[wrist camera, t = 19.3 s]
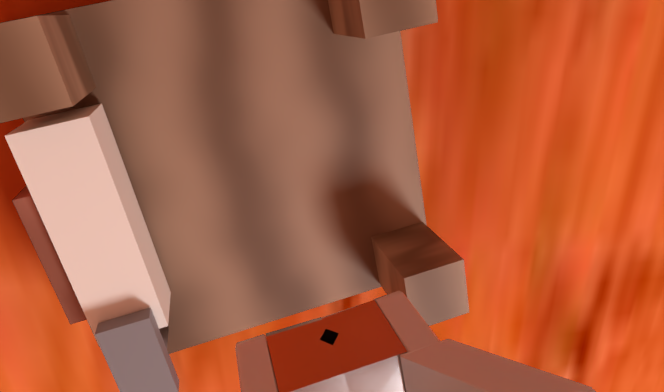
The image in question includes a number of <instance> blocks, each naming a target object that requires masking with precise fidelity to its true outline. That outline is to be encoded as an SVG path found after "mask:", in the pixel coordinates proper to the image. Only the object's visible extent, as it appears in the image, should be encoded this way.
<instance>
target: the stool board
mask: <svg viewBox="0 0 664 392" xmlns="http://www.w3.org/2000/svg"><path fill="white" fill-rule="evenodd" d="M436 22H438V17H437V8H436V0H112V1H107V2H102V3H97V4H92V5H87V6H82V7H77V8H72V9H67V10H62V11H57V12H52V13H47V14H42V15H37V16H32V17H27V18H22V19H17V20H12V21H7V22H2V23H0V123H3V122H7V121H12V120H16V119H20V118H23V120H24V122H26V121H28V120H31V119H35V118H40V117H44V116H48V115H53V114H57V113H62V112H66V111H70V110H75V109H79V108H83V107H88V106H92V105H97V104H101V103H102V105H103V108H104V111H105V114H106V116H107V119H108V122H109V125H110V127H111V130H112V133H113V136H114V138H115V141H116V144H117V147H118V149H119V152H120V155H121V157H122V160H123V163H124V166H125V168H126V171H127V174H128V177H129V179H130V182H131V185H132V188H133V190H134V193H135V196H136V199H137V201H138V204H139V207H140V210H141V212H142V215H143V218H144V221H145V223H146V226H147V229H148V231H149V234H150V237H151V240H152V242H153V245H154V248H155V251H156V253H157V256H158V259H159V262H160V264H161V267H162V270H163V273H164V275H165V278H166V281H167V284H168V286H169V289H170V292H171V296H170V309H169V322H168V326H167V327H163V328H160V329H159V330H160V333H161V335H162V338H163V340H164V343H165V346H166V348H167V351H168V353H169V354H170V353H173V352H176V351H179V350H183V349H186V348H189V347H192V346H195V345H198V344H201V343H205V342H208V341H211V340H214V339H217V338H220V337H224V336H227V335H230V334H233V333H236V332H239V331H243V330H246V329H249V328H252V327H255V326H258V325H262V324H265V323H268V322H271V321H274V320H277V319H280V318H284V317H287V316H290V315H293V314H296V313H299V312H303V311H306V310H309V309H312V308H315V307H318V306H322V305H325V304H328V303H331V302H334V301H337V300H340V299H344V298H347V297H350V296H353V295H356V294H359V293H363V292H366V291H369V290H372V289H375V288H378V287H382V288H383V289H384V291H385V292H386V293H387V295H388V294H390V293H393V292H396V291H401V292H403V293H404V294H405V296H406V297H407V298H408V300H409V301H410V302H411V304H412V305H413V306H414V308H415V309H416V310H417V311H418V313H419V314H420V315H421V317H422V318H423V319H424V321H425V322H426V323H427V324H428V326H430V325H433V324H436V323H439V322H442V321H445V320H448V319H451V318H454V317H457V316H460V315H463V314H466V313H469V305H468V296H467V286H466V277H465V268H464V259H462V258H461V257H460V256H459V255H458V254H457V253H456V252H455V251H454V250H453V249H452V248H450V247H449V246H448V245H447V244H446V243H445V242H444V241H443V240H442V239H441V238H439V237H438V236H437V235H436V234H435V233H434V232H433V231H432V230H431V229H430V228H429V227H427V226H426V218H425V211H424V203H423V196H422V189H421V181H420V174H419V167H418V159H417V152H416V144H415V137H414V130H413V122H412V115H411V108H410V100H409V93H408V85H407V78H406V71H405V63H404V56H403V49H402V41H401V34H400V31H402V30H406V29H410V28H415V27H419V26H423V25H428V24H432V23H436ZM12 201H13V204H14V206H15V208H16V210H17V212H18V214H19V216H20V218H21V221H22V223H23V225H24V227H25V229H26V231H27V233H28V235H29V237H30V240H31V242H32V244H33V246H34V248H35V250H36V252H37V254H38V257H39V259H40V261H41V263H42V265H43V267H44V269H45V271H46V274H47V276H48V278H49V280H50V282H51V284H52V286H53V288H54V290H55V293H56V295H57V297H58V299H59V301H60V303H61V305H62V307H63V310H64V312H65V314H66V316H67V318H68V320H69V322H70V324H73V323H77V322H80V321H83V320H87V319H86V316H85V314H84V312H83V310H82V308H81V305H80V303H79V301H78V299H77V296H76V294H75V292H74V290H73V288H72V285H71V283H70V281H69V279H68V276H67V274H66V272H65V270H64V267H63V265H62V263H61V261H60V259H59V256H58V254H57V252H56V250H55V247H54V245H53V243H52V241H51V239H50V236H49V234H48V232H47V230H46V227H45V225H44V223H43V221H42V219H41V216H40V214H39V212H38V210H37V207H36V205H35V203H34V201H33V199H32V196H31V194H30V192H29V190H28V187H27V185H26V186H25V188H24V189H23V190H22V191H21V192H20V193H19V194H18V195H17V196H16V197H15V198H14V199H13V200H12Z"/></svg>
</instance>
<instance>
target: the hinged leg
mask: <svg viewBox="0 0 664 392" xmlns="http://www.w3.org/2000/svg"><path fill="white" fill-rule="evenodd" d="M5 138H6V141H7V143H8V145H9V147H10V150H11V152H12V154H13V156H14V158H15V161H16V163H17V165H18V167H19V170H20V172H21V174H22V176H23V179H24V181H25V183H26V185H27V187H28V190H29V192H30V194H31V196H32V199H33V201H34V203H35V205H36V207H37V210H38V212H39V214H40V216H41V219H42V221H43V223H44V225H45V227H46V230H47V232H48V234H49V236H50V239H51V241H52V243H53V245H54V247H55V250H56V252H57V254H58V256H59V259H60V261H61V263H62V265H63V267H64V270H65V272H66V274H67V276H68V279H69V281H70V283H71V285H72V288H73V290H74V292H75V294H76V296H77V299H78V301H79V303H80V305H81V308H82V310H83V312H84V314H85V316H86V319H87V321H88V323H89V325H90V328H91V330H92V332H93V334H94V336H95V339H96V341H97V343H98V345H99V347H100V348H101V350H102V352H103V354H104V357H105V359H106V361H107V363H108V365H109V368H110V370H111V372H112V374H113V377H114V379H115V381H116V383H117V386H118V388H119V390H120V392H179V379H178V377H177V374H176V371H175V369H174V366H173V364H172V361H171V358H170V356H169V353H168V351H167V348H166V346H165V343H164V340H163V338H162V335H161V333H160V330H159V329H160V328H163V327H167V326H168V322H169V309H170V296H171V292H170V289H169V286H168V284H167V281H166V278H165V275H164V273H163V270H162V267H161V264H160V262H159V259H158V256H157V253H156V251H155V248H154V245H153V242H152V240H151V237H150V234H149V231H148V229H147V226H146V223H145V221H144V218H143V215H142V212H141V210H140V207H139V204H138V201H137V199H136V196H135V193H134V190H133V188H132V185H131V182H130V179H129V177H128V174H127V171H126V168H125V166H124V163H123V160H122V157H121V155H120V152H119V149H118V147H117V144H116V141H115V138H114V136H113V133H112V130H111V127H110V125H109V122H108V119H107V116H106V114H105V111H104V108H103V105H102V103H101V104H97V105H92V106H88V107H83V108H79V109H75V110H70V111H66V112H62V113H57V114H53V115H48V116H44V117H40V118H35V119H31V120H28V121H26V122H25V123H23V124H22V125H20V126H19V127H17V128H16V129H14V130H13V131H11V132H10V133H8V134H7V135H5Z"/></svg>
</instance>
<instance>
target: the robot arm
mask: <svg viewBox="0 0 664 392" xmlns="http://www.w3.org/2000/svg"><path fill="white" fill-rule="evenodd" d="M235 349H236V356H237V364H238V372H239V380H240V388H241V392H596V391H595V390H594V389H592V388H591V387H589V386H586V385H583V384H580V383H578V382H575V381H572V380H569V379H566V378H563V377H560V376H557V375H554V374H551V373H548V372H545V371H542V370H539V369H536V368H533V367H530V366H527V365H524V364H521V363H518V362H516V361H513V360H510V359H507V358H504V357H501V356H498V355H495V354H492V353H489V352H486V351H483V350H480V349H477V348H474V347H471V346H468V345H465V344H462V343H459V342H456V341H454V340H451V339H446V340H443V341H440V340H439V339H438V337H437V336H436V335H435V334H434V332H433V331H432V330H431V328H430V327H429V326H428V324H427V323H426V322H425V321H424V319H423V318H422V317H421V315H420V314H419V313H418V311H417V310H416V309H415V308H414V306H413V305H412V304H411V302H410V301H409V300H408V298H407V297H406V296H405V294H404V293H403V292H401V291H396V292H393V293H390V294H388V295H385V296H382V297H379V298H376V299H374V300H373V301H370V302H367V303H364V304H361V305H358V306H355V307H352V308H349V309H346V310H343V311H340V312H337V313H334V314H331V315H328V316H325V317H322V318H321V317H320V318H317V319H313V320H310V321H307V322H303V323H300V324H297V325H293V326H290V327H287V328H283V329H280V330H277V331H273V332H270V333H266V336H265V335H264V334H263V335H260V336H257V337H254V338H251V339H247V340H244V341H241V342H238V343H237V344H236V348H235Z"/></svg>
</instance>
